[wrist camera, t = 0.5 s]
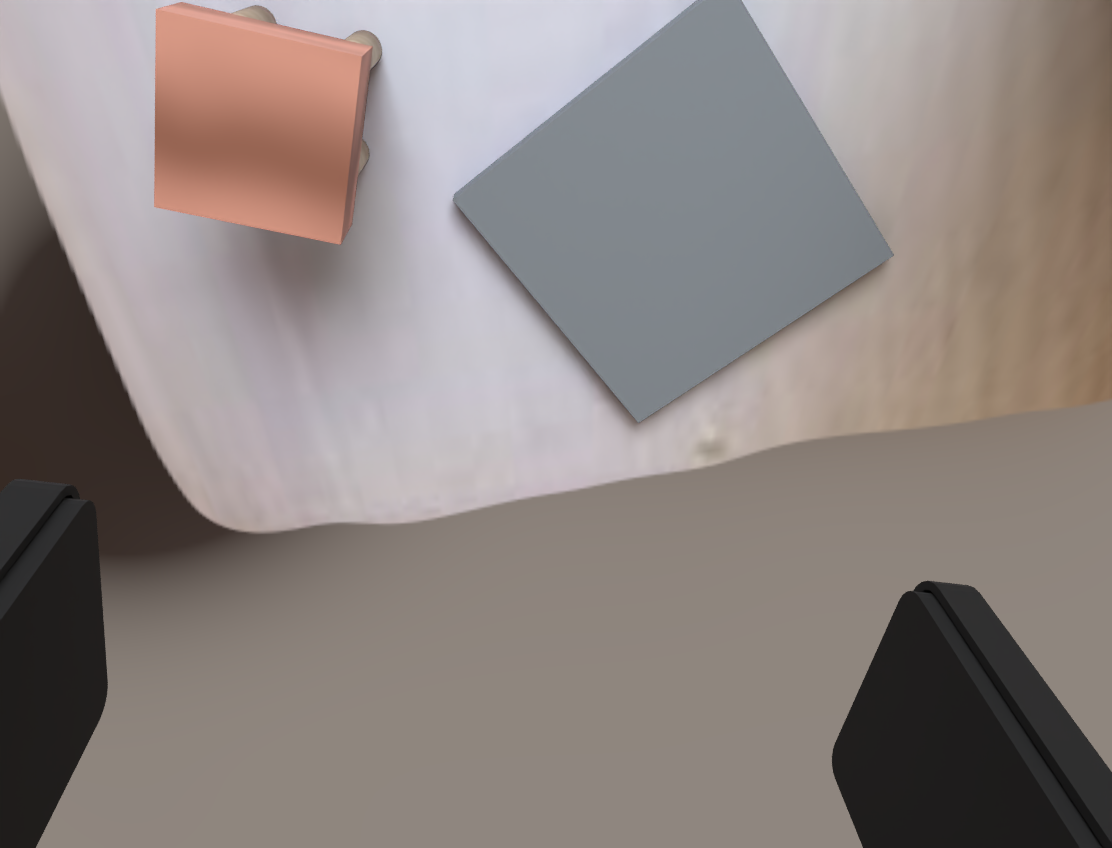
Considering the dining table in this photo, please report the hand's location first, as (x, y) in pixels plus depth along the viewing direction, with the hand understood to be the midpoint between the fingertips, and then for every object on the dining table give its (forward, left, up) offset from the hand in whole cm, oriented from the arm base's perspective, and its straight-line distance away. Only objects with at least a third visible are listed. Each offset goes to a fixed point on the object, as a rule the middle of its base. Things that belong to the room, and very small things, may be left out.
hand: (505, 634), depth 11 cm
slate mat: (-2, +8, -32) cm, 33 cm away
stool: (+7, -6, -32) cm, 33 cm away
